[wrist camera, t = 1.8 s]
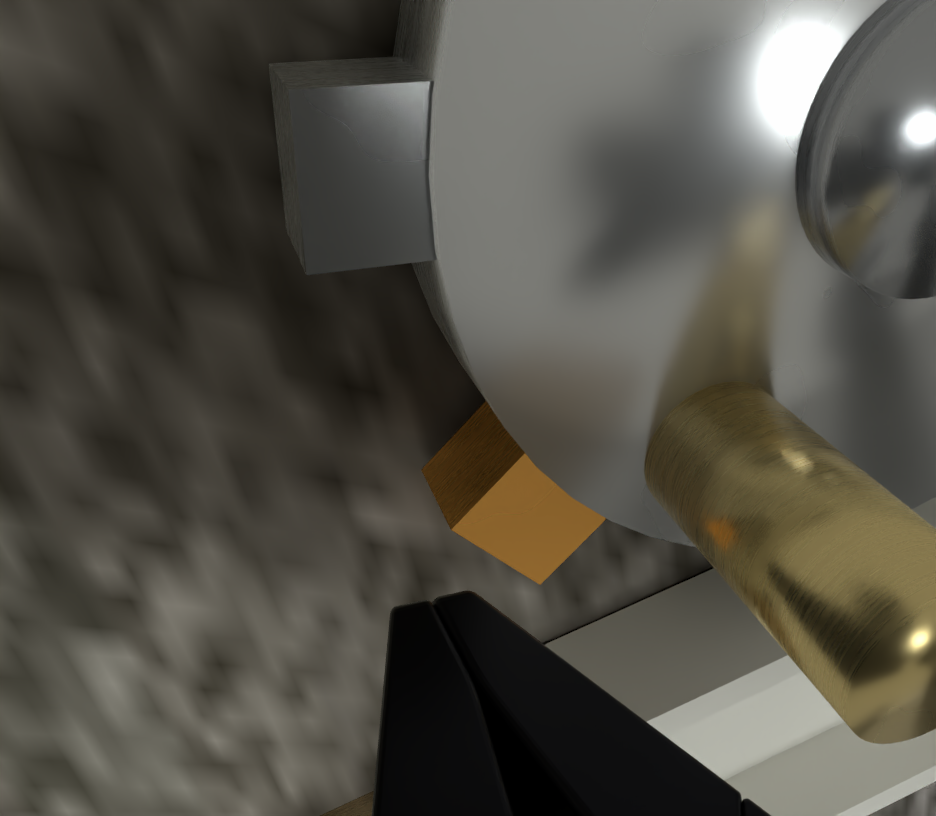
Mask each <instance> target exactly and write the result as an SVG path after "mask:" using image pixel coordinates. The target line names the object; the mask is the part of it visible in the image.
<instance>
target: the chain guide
mask: <svg viewBox="0 0 936 816" xmlns="http://www.w3.org/2000/svg"><path fill="white" fill-rule="evenodd" d="M912 510H913V511H914V512H916V513H917V514H918V515H919V516H921V517H922V518H923V519H924V520H926V521H927V522H928V523H929V524H931V525H932V526H933V527H934V528H935V529H936V497H935V498H933V499H931V500H929V501H927V502H925V503H923V504H921V505H919V506H917V507H915V508H913V509H912ZM545 646H546V647H548V648H549V649H550V650H552V651H553V652H554V653H556V654H557V655H558V656H560V657H561V658H562V659H564V660H565V661H566V662H568V663H569V664H570V665H572V666H573V667H574V668H576V669H577V670H578V671H580V672H581V673H582V674H584V675H585V676H586V677H588V678H589V679H590V680H592V681H593V682H594V683H596V684H597V685H598V686H600V687H601V688H602V689H604V690H605V691H606V692H607V693H609V694H610V695H611V696H613V697H614V698H615V699H617V700H618V701H619V702H621V703H622V704H623V705H625V706H626V707H627V708H629V709H630V710H631V711H633V712H634V713H635V714H637V715H638V716H639V717H641V718H642V719H643V720H645V721H646V722H647V723H649V724H650V725H651V726H653V727H654V728H655V729H657V730H658V731H659V732H661V733H662V734H663V735H665V736H666V737H667V738H669V739H670V740H671V741H672V742H674V743H675V744H676V745H678V746H679V747H680V748H682V749H683V750H684V751H686V752H687V753H688V754H690V755H691V756H692V757H694V758H695V759H696V760H698V761H699V762H700V763H702V764H703V765H704V766H706V767H707V768H708V769H710V770H711V771H712V772H714V773H715V774H716V775H718V776H719V777H720V778H722V779H723V780H724V781H726V782H727V783H728V784H730V785H731V786H732V787H734V788H735V789H736V790H738V791H739V792H740V794H741V798H742V800H743V799H745V798H748V799H750V800H751V801H753V802H754V803H755V804H757V805H758V806H759V807H761V808H762V809H763V810H765V811H766V812H767V813H769V814H770V815H771V816H868V815H870V814H872V813H874V812H876V811H878V810H880V809H882V808H884V807H886V806H887V805H889V804H891V803H893V802H895V801H897V800H899V799H901V798H903V797H905V796H907V795H909V794H911V793H913V792H915V791H917V790H919V789H921V788H923V787H925V786H927V785H929V784H931V783H933V782H935V781H936V729H934V730H932V731H930V732H928V733H926V734H924V735H921V736H918V737H916V738H913V739H910V740H906V741H902V742H897V743H891V744H877V743H871V742H867V741H865V740H863V739H861V738H859V737H858V736H857V735H856V734H855V733H854V732H853V731H852V730H851V729H850V728H849V726H848V725H847V724H846V723H845V722H844V720H843V719H842V718H841V717H840V716H839V715H838V713H837V712H836V711H835V710H834V709H833V708H832V706H831V705H830V704H829V703H828V702H827V700H826V699H825V698H824V697H823V696H822V695H821V693H820V692H819V691H818V690H817V689H816V688H815V686H814V685H813V684H812V683H811V682H810V680H809V679H808V678H807V677H806V676H805V675H804V673H803V672H802V671H801V670H800V669H799V667H798V666H797V665H796V664H795V663H794V662H793V660H792V659H791V658H790V657H789V656H788V655H787V653H786V652H785V651H784V650H783V649H782V647H781V646H780V645H779V644H778V643H777V642H776V640H775V639H774V638H773V637H772V636H771V635H770V633H769V632H768V631H767V630H766V629H765V627H764V626H763V625H762V624H761V623H760V622H759V620H758V619H757V618H756V617H755V616H754V615H753V613H752V612H751V611H750V610H749V609H748V607H747V606H746V605H745V604H744V603H743V602H742V600H741V599H740V598H739V597H738V596H737V594H736V593H735V592H734V591H733V590H732V589H731V587H730V586H729V585H728V584H727V583H726V582H725V580H724V579H723V578H722V577H721V576H720V574H719V573H718V572H717V571H716V570H715V569H714V568H713V569H711V570H709V571H707V572H704V573H702V574H700V575H698V576H696V577H693V578H691V579H689V580H687V581H684V582H682V583H680V584H678V585H676V586H673V587H671V588H669V589H667V590H664V591H662V592H660V593H658V594H656V595H653V596H651V597H649V598H647V599H644V600H642V601H640V602H638V603H636V604H633V605H631V606H629V607H627V608H625V609H622V610H620V611H618V612H616V613H613V614H611V615H609V616H607V617H605V618H602V619H600V620H598V621H596V622H593V623H591V624H589V625H587V626H585V627H582V628H580V629H578V630H576V631H573V632H571V633H569V634H567V635H565V636H562V637H560V638H558V639H556V640H554V641H551V642H549V643H547V644H545Z"/></svg>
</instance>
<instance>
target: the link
mask: <svg viewBox="0 0 936 816" xmlns="http://www.w3.org/2000/svg"><path fill="white" fill-rule="evenodd" d="M373 794H374V791H372V792H370V793H368V794H366V795H364V796H362V797H359V798H357V799H355V800H353V801H351V802H349V803H346V804H344V805H342V806H340V807H338V808H336V809H333V810H331V811H329V812H327V813H325V814H323V815H320V816H371V815H372V804H373Z"/></svg>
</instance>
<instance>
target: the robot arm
mask: <svg viewBox="0 0 936 816" xmlns="http://www.w3.org/2000/svg"><path fill="white" fill-rule="evenodd" d="M371 816H771V815H770V814H769V813H767V812H766V811H765V810H763V809H762V808H761V807H759V806H758V805H757V804H755V803H754V802H753V801H751V800H750V799H748V798H745V799H743V800H742V798H741V794H740V792H739V791H738V790H736V789H735V788H734V787H732V786H731V785H730V784H728V783H727V782H726V781H724V780H723V779H722V778H720V777H719V776H718V775H716V774H715V773H714V772H712V771H711V770H710V769H708V768H707V767H706V766H704V765H703V764H702V763H700V762H699V761H698V760H696V759H695V758H694V757H692V756H691V755H690V754H688V753H687V752H686V751H684V750H683V749H682V748H680V747H679V746H678V745H676V744H675V743H674V742H672V741H671V740H670V739H669V738H667V737H666V736H665V735H663V734H662V733H661V732H659V731H658V730H657V729H655V728H654V727H653V726H651V725H650V724H649V723H647V722H646V721H645V720H643V719H642V718H641V717H639V716H638V715H637V714H635V713H634V712H633V711H631V710H630V709H629V708H627V707H626V706H625V705H623V704H622V703H621V702H619V701H618V700H617V699H615V698H614V697H613V696H611V695H610V694H609V693H607V692H606V691H605V690H604V689H602V688H601V687H600V686H598V685H597V684H596V683H594V682H593V681H592V680H590V679H589V678H588V677H586V676H585V675H584V674H582V673H581V672H580V671H578V670H577V669H576V668H574V667H573V666H572V665H570V664H569V663H568V662H566V661H565V660H564V659H562V658H561V657H560V656H558V655H557V654H556V653H554V652H553V651H552V650H550V649H549V648H548V647H546V646H545V645H544V644H542V643H541V642H540V641H538V640H537V639H536V638H535V637H533V636H532V635H531V634H529V633H528V632H527V631H525V630H524V629H523V628H521V627H520V626H519V625H517V624H516V623H515V622H513V621H512V620H511V619H509V618H508V617H507V616H505V615H504V614H503V613H501V612H500V611H499V610H497V609H496V608H495V607H493V606H492V605H491V604H489V603H488V602H487V601H485V600H484V599H483V598H481V597H480V596H479V595H477V594H476V593H474V592H472V591H462V592H458V593H453V594H449V595H444V596H440V597H437V598H436V599H435V600H434V601H433V602H432V603H431V602H430V601H427V600H422V601H418V602H413V603H409V604H404V605H400V606H396V607H394V608H393V609H392V610H391V613H390V621H389V632H388V642H387V653H386V664H385V675H384V686H383V696H382V707H381V718H380V729H379V740H378V750H377V761H376V772H375V783H374V794H373V804H372V815H371Z"/></svg>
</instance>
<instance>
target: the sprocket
mask: <svg viewBox="0 0 936 816" xmlns="http://www.w3.org/2000/svg"><path fill="white" fill-rule="evenodd" d="M269 72H270V81H271V91H272V100H273V109H274V119H275V128H276V138H277V147H278V157H279V166H280V175H281V185H282V194H283V204H284V213H285V223H286V231H287V233H288V235H289V237H290V240H291V242H292V244H293V246H294V249H295V251H296V253H297V255H298V257H299V260H300V262H301V264H302V266H303V269H304V271H305V273H306V275H314V274H322V273H330V272H339V271H347V270H356V269H364V268H373V267H381V266H390V265H398V264H407V263H412V266H413V268H414V271H415V273H416V276H417V278H418V281H419V283H420V286H421V289H422V291H423V294H424V296H425V299H426V301H427V304H428V306H429V309H430V311H431V314H432V316H433V318H434V319H435V321H436V323H437V325H438V326H439V328H440V330H441V331H442V333H443V335H444V337H445V338H446V340H447V342H448V344H449V345H450V347H451V349H452V350H453V352H454V354H455V356H456V357H457V359H458V361H459V362H460V364H461V365H462V366H463V368H464V369H465V371H466V372H467V374H468V375H469V377H470V378H471V380H472V381H473V383H474V384H475V385H476V387H477V388H478V390H479V391H480V393H481V394H482V396H483V397H484V399H485V400H486V401H485V403H484V404H483V405H482V406H481V407H480V408H479V409H478V410H477V411H476V412H475V413H474V414H473V415H472V416H471V417H470V418H469V420H468V421H467V422H466V423H465V424H464V425H463V426H462V427H461V428H460V429H459V430H458V431H457V432H456V433H455V434H454V436H453V437H452V438H451V439H450V440H449V441H448V442H447V443H446V444H445V445H444V446H443V447H442V448H441V449H440V450H439V451H438V453H437V454H436V455H435V456H434V457H433V458H432V459H431V460H430V461H429V462H428V463H427V464H426V465H425V466H424V467H423V469H422V472H423V474H424V476H425V478H426V480H427V482H428V484H429V486H430V488H431V490H432V492H433V494H434V496H435V498H436V500H437V502H438V504H439V506H440V508H441V510H442V512H443V514H444V516H445V518H446V520H447V522H448V524H449V526H450V529H451V530H452V531H454V532H455V533H457V534H459V535H460V536H462V537H464V538H465V539H467V540H468V541H470V542H472V543H473V544H475V545H476V546H478V547H480V548H481V549H483V550H485V551H486V552H488V553H489V554H491V555H493V556H494V557H496V558H498V559H499V560H501V561H502V562H504V563H506V564H507V565H509V566H510V567H512V568H514V569H515V570H517V571H519V572H520V573H522V574H523V575H525V576H527V577H528V578H530V579H532V580H533V581H535V582H536V583H538V584H541V583H542V582H543V581H544V580H545V579H546V578H548V577H549V576H550V575H551V574H552V573H553V572H554V571H555V570H556V569H557V568H558V567H559V566H560V565H561V564H562V563H563V562H564V561H565V560H566V559H567V558H568V557H569V556H570V555H571V554H572V553H573V552H574V551H575V550H576V549H577V548H578V547H579V546H580V545H581V544H582V543H583V542H584V541H585V540H586V539H587V538H588V537H589V536H590V535H591V534H592V533H593V532H594V531H595V530H596V529H597V528H598V527H599V526H600V525H601V524H602V523H603V522H604V521H605V520H606V519H608V520H610V521H612V522H614V523H617V524H619V525H622V526H624V527H627V528H629V529H632V530H634V531H637V532H639V533H642V534H644V535H647V536H649V537H652V538H657V539H661V540H666V541H670V542H675V543H679V544H683V545H688V546H692V547H697V549H698V550H699V551H700V552H701V553H702V554H703V556H704V557H705V558H706V559H707V560H708V562H709V563H710V564H711V565H712V566H713V567H714V569H715V570H716V571H717V572H718V573H719V574H720V576H721V577H722V578H723V579H724V580H725V582H726V583H727V584H728V585H729V586H730V587H731V589H732V590H733V591H734V592H735V593H736V594H737V596H738V597H739V598H740V599H741V600H742V602H743V603H744V604H745V605H746V606H747V607H748V609H749V610H750V611H751V612H752V613H753V615H754V616H755V617H756V618H757V619H758V620H759V622H760V623H761V624H762V625H763V626H764V627H765V629H766V630H767V631H768V632H769V633H770V635H771V636H772V637H773V638H774V639H775V640H776V642H777V643H778V644H779V645H780V646H781V647H782V649H783V650H784V651H785V652H786V653H787V655H788V656H789V657H790V658H791V659H792V660H793V662H794V663H795V664H796V665H797V666H798V667H799V669H800V670H801V671H802V672H803V673H804V675H805V676H806V677H807V678H808V679H809V680H810V682H811V683H812V684H813V685H814V686H815V688H816V689H817V690H818V691H819V692H820V693H821V695H822V696H823V697H824V698H825V699H826V700H827V702H828V703H829V704H830V705H831V706H832V708H833V709H834V710H835V711H836V712H837V713H838V715H839V716H840V717H841V718H842V719H843V720H844V722H845V723H846V724H847V725H848V726H849V728H850V729H851V730H852V731H853V732H854V733H855V734H856V735H857V736H858V737H859V738H861V739H863V740H865V741H867V742H871V743H877V744H891V743H897V742H902V741H906V740H910V739H913V738H916V737H918V736H921V735H924V734H926V733H928V732H930V731H932V730H934V729H936V529H935V528H934V527H933V526H932V525H931V524H929V523H928V522H927V521H926V520H924V519H923V518H922V517H921V516H919V515H918V514H917V513H916V512H914V511H913V510H912V509H913V508H915V507H917V506H919V505H921V504H923V503H925V502H927V501H929V500H931V499H933V498H935V497H936V0H401V3H400V10H399V17H398V24H397V31H396V38H395V45H394V52H393V57H380V58H361V59H342V60H323V61H304V62H286V63H269Z"/></svg>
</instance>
